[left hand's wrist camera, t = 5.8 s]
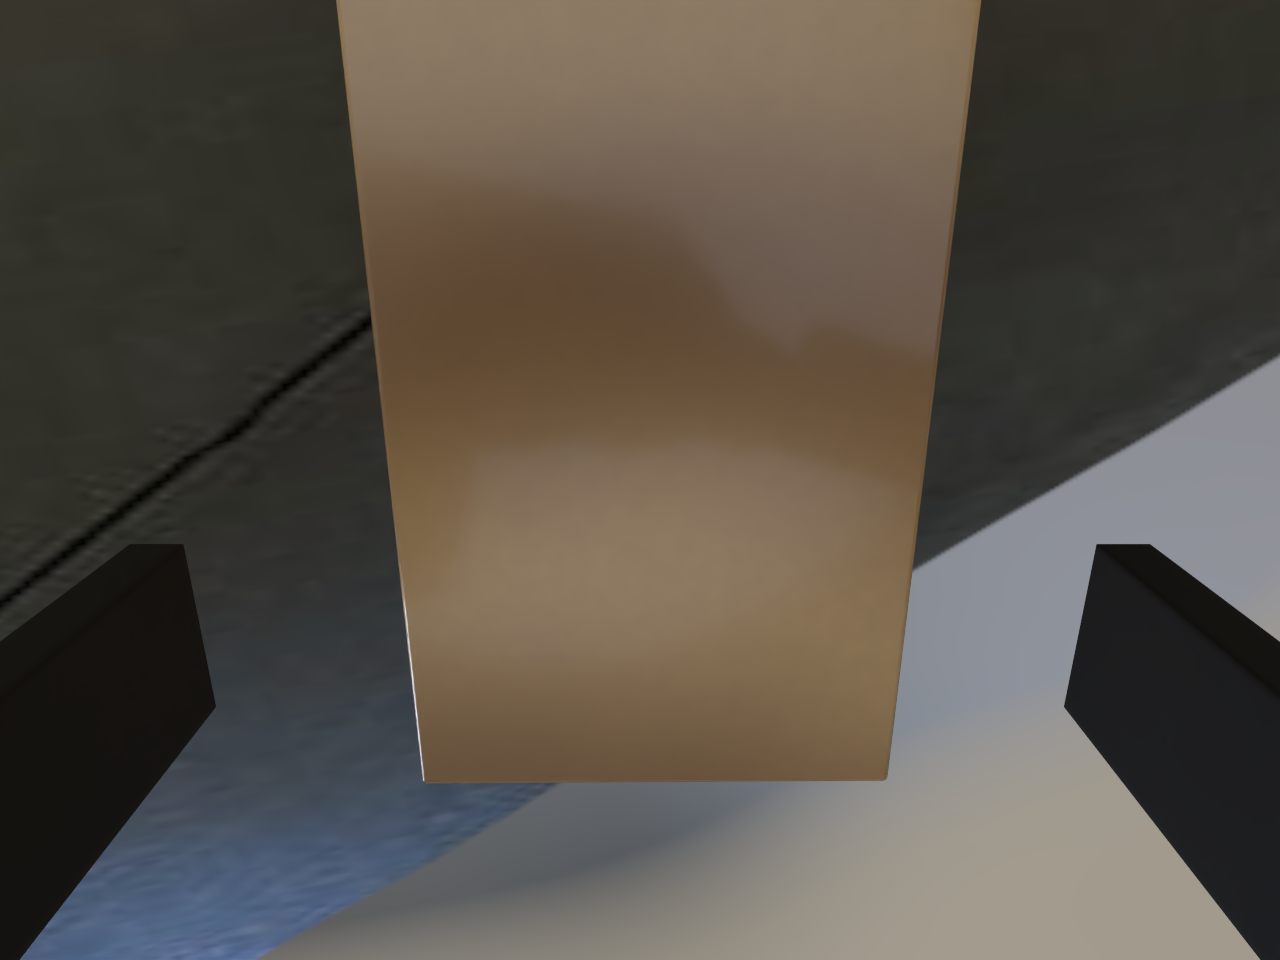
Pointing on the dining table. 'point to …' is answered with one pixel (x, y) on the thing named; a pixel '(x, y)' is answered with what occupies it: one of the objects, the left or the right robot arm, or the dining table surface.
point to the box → (656, 369)
